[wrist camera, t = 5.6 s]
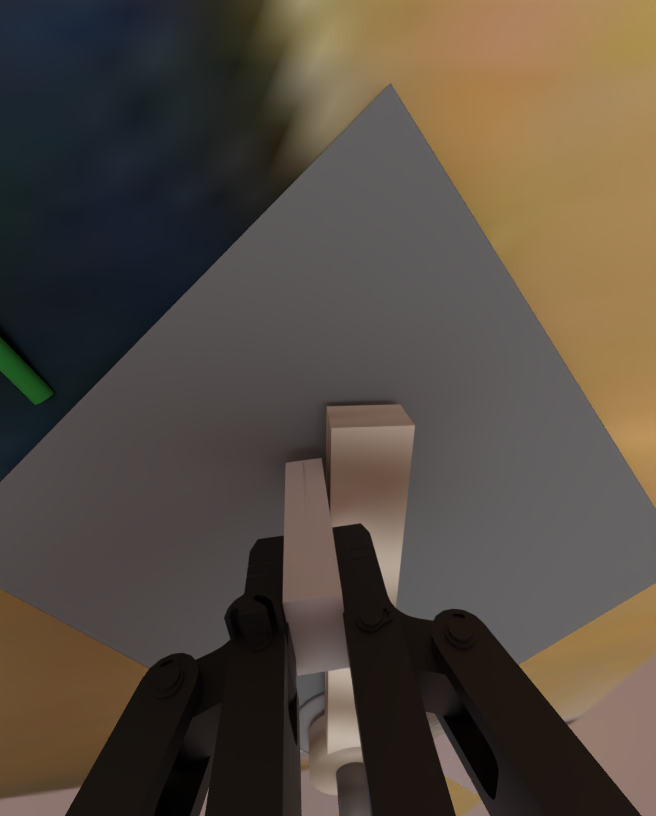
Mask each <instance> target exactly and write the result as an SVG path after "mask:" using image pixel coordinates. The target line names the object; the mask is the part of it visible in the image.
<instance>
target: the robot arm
mask: <svg viewBox="0 0 656 816" xmlns="http://www.w3.org/2000/svg"><path fill="white" fill-rule="evenodd" d="M224 620H225V623H226V626H227V630H228V633H229V636H230V640H229V641H228V642H227V643H225V644H224V645H223V646H222V647H220V648H218V649H217V650H215V651H213V652H211V653H209V654H207V655H205V656H203V657H201V658H198V659H196V660H195V659H194V658H193V657H192V655H189V654H186V653H175V654H171V655H169V656H166V657H164V658H162V659H160V660H159V661H158V662H157V663H156V664H154V665H153V666H152V667H151V668H150V669H149V670H148V672H147V673H146V674H145V676H144V677H143V678H142V680H141V682H140V683H139V685H138V687H137V689H136V691H135V692H134V694H133V696H132V698H131V699H130V701H129V703H128V705H127V707H126V708H125V710H124V712H123V714H122V715H121V717H120V719H119V721H118V722H117V724H116V726H115V728H114V730H113V731H112V733H111V735H110V737H109V738H108V740H107V742H106V744H105V746H104V747H103V749H102V751H101V753H100V754H99V756H98V758H97V760H96V762H95V763H94V765H93V767H92V769H91V770H90V772H89V774H88V776H87V778H86V779H85V781H84V783H83V785H82V786H81V788H80V790H79V792H78V794H77V795H76V797H75V799H74V801H73V802H72V804H71V806H70V808H69V810H68V811H67V813H66V815H65V816H199V815H200V812H201V809H202V806H203V803H204V800H205V797H206V794H207V791H208V788H209V791H208V798H207V805H206V812H205V816H301V770H300V720H299V697H298V692H297V687H296V670H297V675H298V676H300V675H306V674H312V673H318V672H325V671H331V670H338V669H344V668H350V673H351V679H352V687H353V695H354V703H355V709H356V715H357V722H358V729H359V737H360V744H361V751H362V758H363V765H364V772H365V779H366V786H367V793H368V800H369V807H370V814H371V816H456V815H455V811H454V808H453V804H452V801H451V798H450V794H449V791H448V787H447V784H446V780H445V777H444V774H443V770H442V767H441V763H440V760H439V757H438V753H437V750H436V746H435V743H434V739H433V736H432V733H431V729H430V726H429V722H428V719H427V715H426V712H429V713H434V714H435V715H436V717H437V719H438V721H439V723H440V724H441V726H442V728H443V730H444V732H445V734H446V735H447V737H448V739H449V741H450V743H451V745H452V746H453V748H454V750H455V752H456V754H457V756H458V757H459V759H460V761H461V763H462V765H463V767H464V768H465V770H466V772H467V774H468V776H469V778H470V779H471V781H472V783H473V785H474V787H475V789H476V790H477V792H478V794H479V796H480V798H481V800H482V801H483V803H484V805H485V807H486V809H487V810H488V812H489V814H490V816H641V815H640V814H639V812H638V811H637V810H636V808H635V807H634V806H633V805H632V804H631V802H630V801H629V800H628V799H627V797H626V796H625V795H624V794H623V793H622V792H621V790H620V789H619V788H618V786H617V785H616V784H615V783H614V782H613V781H612V779H611V778H610V777H609V776H608V774H607V773H606V772H605V771H604V769H603V768H602V767H601V766H600V764H599V763H598V762H597V761H596V760H595V758H594V757H593V756H592V755H591V754H590V752H589V751H588V750H587V749H586V747H585V746H584V745H583V744H582V742H581V741H580V740H579V739H578V738H577V736H576V735H575V734H574V733H573V731H572V730H571V729H570V728H569V727H568V725H567V724H566V723H565V722H564V720H563V719H562V718H561V717H560V716H559V714H558V713H557V712H556V711H555V709H554V708H553V707H552V706H551V705H550V703H549V702H548V701H547V700H546V698H545V697H544V696H543V695H542V694H541V692H540V691H539V690H538V689H537V687H536V686H535V685H534V684H533V683H532V681H531V680H530V679H529V678H528V676H527V675H526V674H525V673H524V672H523V670H522V669H521V668H520V667H519V665H518V664H517V663H516V662H515V661H514V659H513V658H512V657H511V656H510V654H509V653H508V652H507V651H506V650H505V648H504V647H503V646H502V645H501V643H500V642H499V641H498V640H497V639H496V637H495V636H494V635H493V634H492V632H491V631H490V630H489V629H488V628H487V626H486V625H485V624H484V623H483V622H482V621H481V620H480V619H479V618H478V617H477V616H475V615H474V614H472V613H469V612H467V611H465V610H460V609H448V610H443V611H442V612H440V613H439V614H438V615H436V616H435V618H434V620H427V619H421V618H415V617H411V616H408V615H406V614H404V613H402V612H401V611H399V610H398V609H397V608H396V607H395V606H394V605H393V604H392V603H391V601H390V599H389V597H388V594H387V591H386V587H385V584H384V580H383V577H382V573H381V570H380V566H379V563H378V559H377V556H376V552H375V549H374V545H373V542H372V538H371V535H370V532H369V531H368V530H367V529H366V528H365V527H364V526H363V525H362V524H361V523H359V524H352V525H345V526H338V527H332V524H331V518H330V511H329V505H328V498H327V491H326V485H325V478H324V472H323V465H322V458H317V459H310V460H303V461H295V462H288V463H286V467H285V513H284V535H283V536H276V537H269V538H262V539H257V541H256V542H255V544H254V546H253V547H252V549H251V550H250V554H249V561H248V569H247V578H246V584H245V591H244V594H243V595H242V596H240V597H239V598H237V599H236V600H234V602H233V603H232V604H231V605H230V606H229V608H228V609H227V612H226V614H225V617H224Z"/></svg>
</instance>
